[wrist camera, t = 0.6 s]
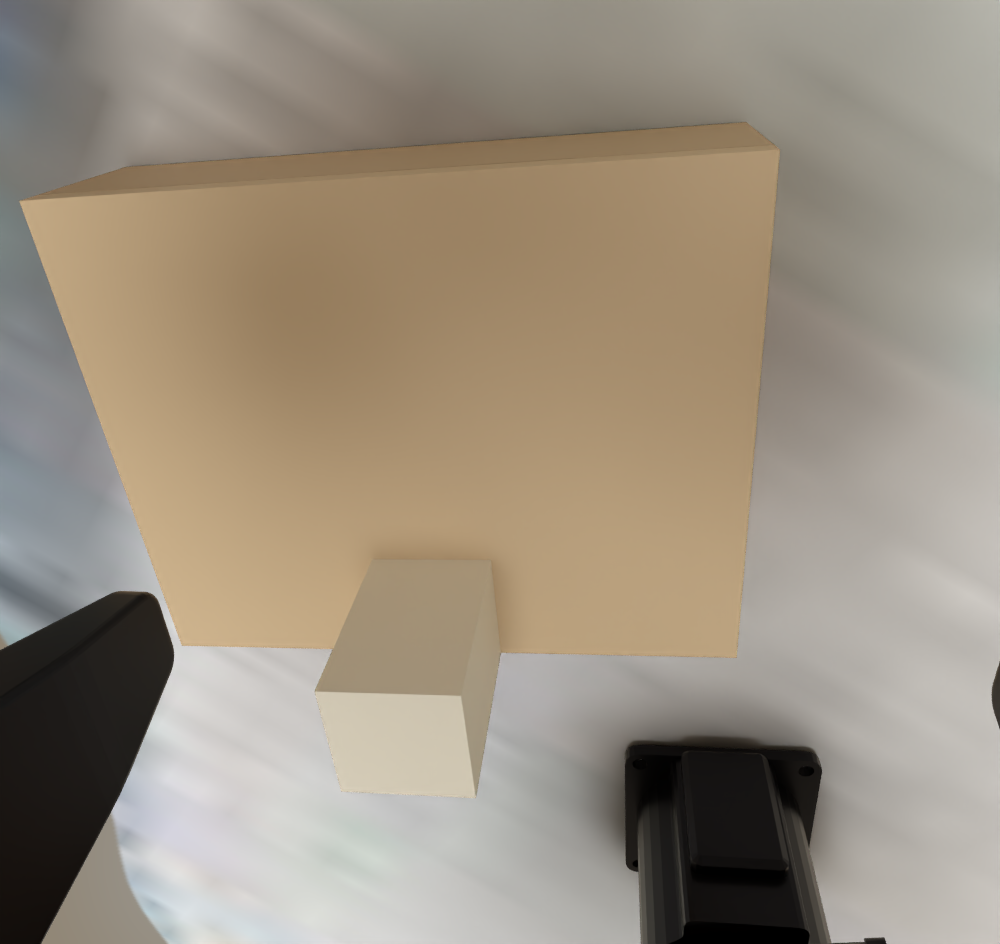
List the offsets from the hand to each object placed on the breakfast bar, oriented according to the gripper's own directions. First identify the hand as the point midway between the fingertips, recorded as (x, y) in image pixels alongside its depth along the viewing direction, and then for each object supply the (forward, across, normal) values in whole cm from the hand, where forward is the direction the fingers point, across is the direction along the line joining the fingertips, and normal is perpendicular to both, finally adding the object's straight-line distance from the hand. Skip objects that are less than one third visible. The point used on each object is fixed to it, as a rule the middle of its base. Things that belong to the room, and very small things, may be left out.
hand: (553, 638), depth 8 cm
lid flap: (+10, +4, +3) cm, 11 cm away
